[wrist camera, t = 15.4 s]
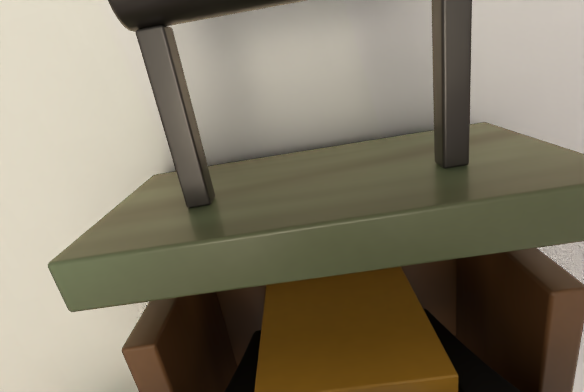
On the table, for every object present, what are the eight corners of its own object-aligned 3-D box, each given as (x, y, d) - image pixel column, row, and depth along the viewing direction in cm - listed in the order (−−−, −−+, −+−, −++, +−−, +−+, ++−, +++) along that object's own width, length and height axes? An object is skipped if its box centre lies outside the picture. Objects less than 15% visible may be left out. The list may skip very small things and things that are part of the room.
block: (394, 253, 12) (459, 375, 7) (401, 351, 14) (458, 504, 9) (267, 271, 12) (252, 400, 8) (288, 366, 14) (286, 521, 9)
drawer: (97, 1, 10) (-112, -62, 5) (492, -74, 10) (741, -239, 4) (237, 439, 17) (212, 613, 12) (475, 411, 16) (565, 583, 11)
